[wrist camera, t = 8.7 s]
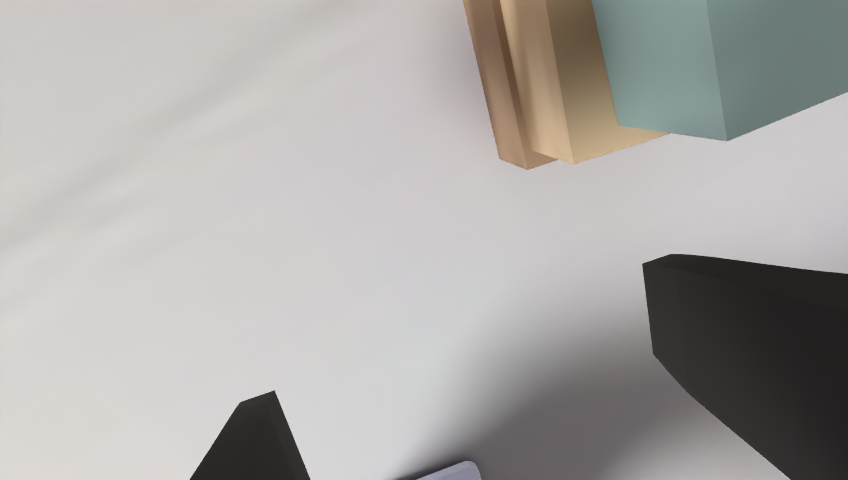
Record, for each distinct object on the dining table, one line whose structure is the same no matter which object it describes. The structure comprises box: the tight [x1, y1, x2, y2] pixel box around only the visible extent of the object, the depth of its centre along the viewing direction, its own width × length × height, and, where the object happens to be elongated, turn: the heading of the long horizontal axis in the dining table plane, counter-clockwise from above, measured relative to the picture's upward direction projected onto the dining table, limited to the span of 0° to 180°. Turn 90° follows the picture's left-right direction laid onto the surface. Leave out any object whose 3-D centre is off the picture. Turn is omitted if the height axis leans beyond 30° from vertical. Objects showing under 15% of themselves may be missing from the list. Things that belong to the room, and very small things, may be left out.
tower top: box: [500, 0, 670, 164], centre depth 16 cm, size 6×6×3 cm
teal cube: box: [591, 0, 848, 141], centre depth 13 cm, size 4×4×4 cm
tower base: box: [463, 0, 559, 170], centre depth 19 cm, size 7×7×3 cm
